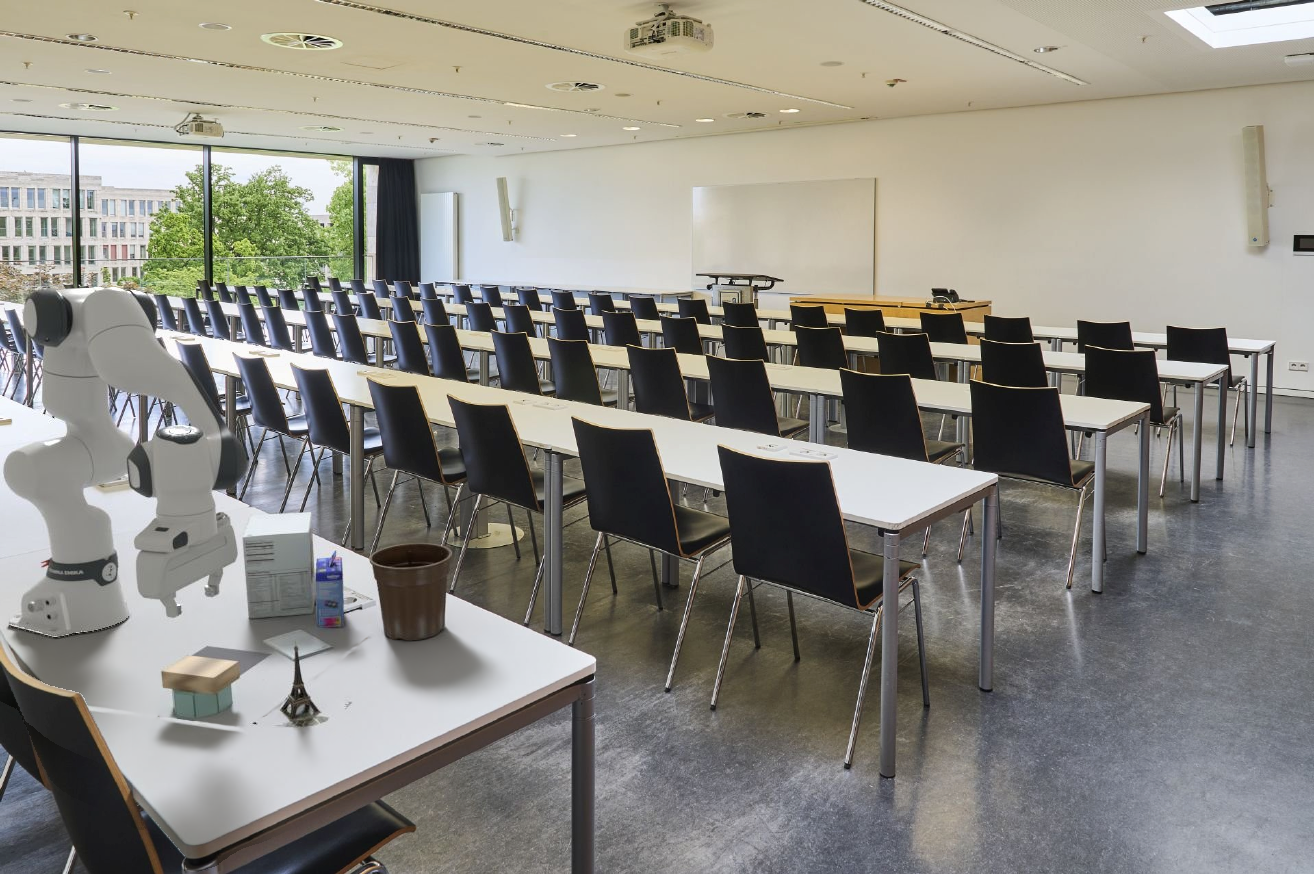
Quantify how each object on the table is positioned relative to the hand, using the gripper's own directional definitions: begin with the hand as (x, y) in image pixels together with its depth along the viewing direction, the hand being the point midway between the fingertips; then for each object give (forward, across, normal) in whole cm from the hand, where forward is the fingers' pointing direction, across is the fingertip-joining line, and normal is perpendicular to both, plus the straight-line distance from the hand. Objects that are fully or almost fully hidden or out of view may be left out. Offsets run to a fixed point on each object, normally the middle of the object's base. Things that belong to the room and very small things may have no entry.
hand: (193, 605), depth 165 cm
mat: (+18, -15, -8) cm, 25 cm away
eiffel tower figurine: (+19, -3, +16) cm, 25 cm away
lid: (+14, 0, 0) cm, 14 cm away
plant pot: (+19, -40, +19) cm, 48 cm away
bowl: (+18, 0, 0) cm, 19 cm away
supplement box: (+19, -46, -15) cm, 52 cm away
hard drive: (+19, -26, +2) cm, 32 cm away
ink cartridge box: (+19, -40, 0) cm, 45 cm away
